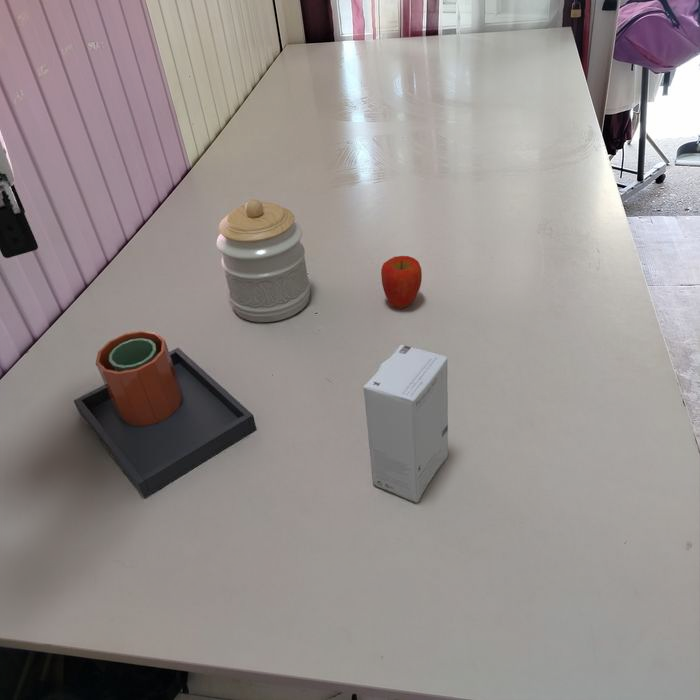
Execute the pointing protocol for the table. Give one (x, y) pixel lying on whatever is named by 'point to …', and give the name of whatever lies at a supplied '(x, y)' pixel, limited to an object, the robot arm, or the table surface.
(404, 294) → the apple
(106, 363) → the terracotta cup
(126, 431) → the tray
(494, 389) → the table surface
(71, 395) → the table surface
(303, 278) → the jar
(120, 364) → the sage cup
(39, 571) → the table surface
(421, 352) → the cosmetic box
